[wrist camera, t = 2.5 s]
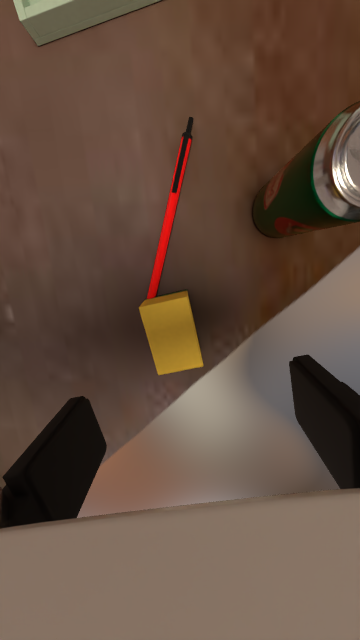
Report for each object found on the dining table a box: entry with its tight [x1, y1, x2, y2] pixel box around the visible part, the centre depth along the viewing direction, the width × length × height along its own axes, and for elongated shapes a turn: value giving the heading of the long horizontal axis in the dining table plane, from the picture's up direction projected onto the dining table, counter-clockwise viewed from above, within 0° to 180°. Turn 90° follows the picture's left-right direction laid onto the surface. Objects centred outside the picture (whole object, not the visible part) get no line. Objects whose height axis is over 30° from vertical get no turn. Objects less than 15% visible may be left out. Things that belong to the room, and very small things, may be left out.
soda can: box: [253, 101, 360, 238], centre depth 15 cm, size 5×5×12 cm
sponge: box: [139, 290, 203, 375], centre depth 22 cm, size 4×7×4 cm, turn 13°
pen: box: [147, 117, 193, 299], centre depth 21 cm, size 1×19×1 cm, turn 166°
